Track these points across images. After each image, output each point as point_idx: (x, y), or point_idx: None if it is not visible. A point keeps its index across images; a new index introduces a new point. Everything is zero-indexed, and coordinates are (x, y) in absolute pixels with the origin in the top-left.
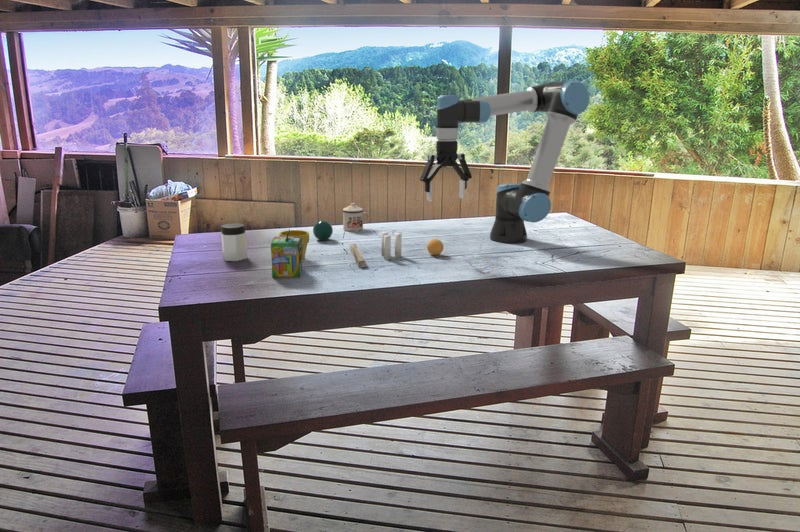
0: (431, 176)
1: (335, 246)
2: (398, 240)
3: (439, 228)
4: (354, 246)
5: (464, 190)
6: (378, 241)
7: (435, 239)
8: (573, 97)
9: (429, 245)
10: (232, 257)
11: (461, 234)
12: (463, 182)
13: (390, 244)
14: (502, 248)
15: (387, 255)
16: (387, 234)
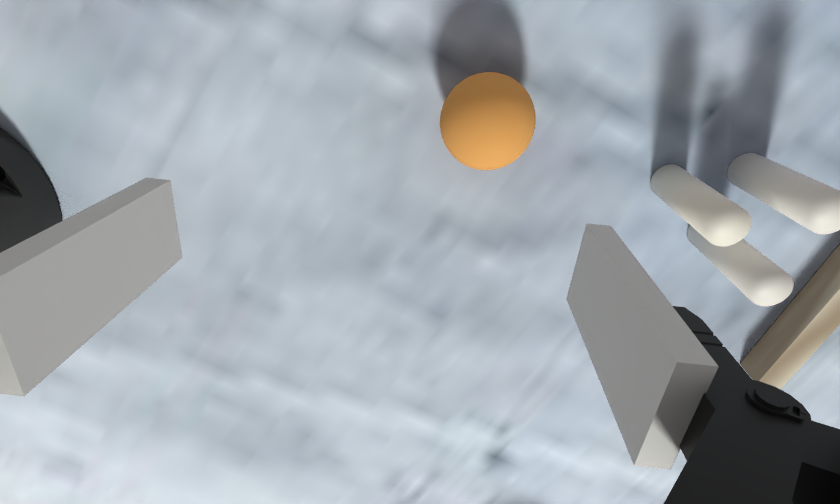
0: (769, 490)
1: None
2: (724, 196)
3: (208, 465)
4: (804, 346)
5: (82, 214)
6: (557, 423)
7: (491, 129)
8: None
9: (533, 121)
10: None
11: (162, 359)
12: (2, 271)
13: (786, 180)
14: (71, 51)
15: (771, 160)
16: (764, 268)
